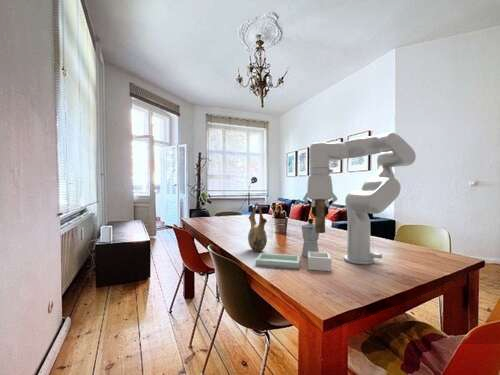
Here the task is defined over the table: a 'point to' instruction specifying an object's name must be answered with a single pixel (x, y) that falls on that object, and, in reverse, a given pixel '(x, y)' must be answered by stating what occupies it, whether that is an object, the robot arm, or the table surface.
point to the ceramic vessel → (257, 231)
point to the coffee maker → (309, 238)
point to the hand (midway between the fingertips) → (320, 215)
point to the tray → (278, 260)
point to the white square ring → (319, 261)
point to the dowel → (320, 216)
